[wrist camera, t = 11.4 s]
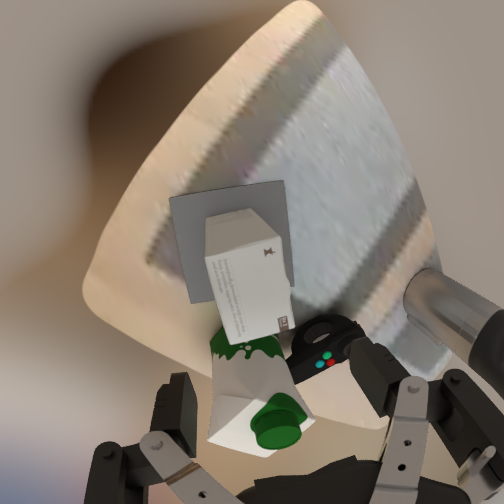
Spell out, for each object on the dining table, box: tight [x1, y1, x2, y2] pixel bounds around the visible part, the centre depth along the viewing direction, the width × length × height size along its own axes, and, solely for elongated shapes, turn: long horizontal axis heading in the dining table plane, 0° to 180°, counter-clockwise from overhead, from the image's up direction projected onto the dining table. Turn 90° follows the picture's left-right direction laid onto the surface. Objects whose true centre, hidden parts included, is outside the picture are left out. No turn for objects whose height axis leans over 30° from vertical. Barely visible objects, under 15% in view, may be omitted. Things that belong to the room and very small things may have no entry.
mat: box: [169, 181, 294, 304], centre depth 35 cm, size 14×14×1 cm
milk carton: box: [207, 326, 316, 458], centre depth 30 cm, size 9×9×20 cm
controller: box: [286, 314, 366, 385], centre depth 35 cm, size 4×12×10 cm, turn 119°
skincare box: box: [204, 208, 295, 345], centre depth 27 cm, size 8×6×15 cm
